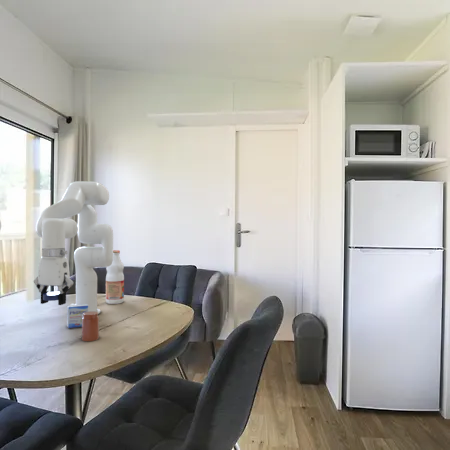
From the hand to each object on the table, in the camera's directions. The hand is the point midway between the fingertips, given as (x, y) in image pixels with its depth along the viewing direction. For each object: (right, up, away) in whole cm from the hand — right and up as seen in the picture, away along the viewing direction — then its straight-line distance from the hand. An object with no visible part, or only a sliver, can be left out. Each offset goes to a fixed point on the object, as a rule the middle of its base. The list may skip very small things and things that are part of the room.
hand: (53, 303), depth 132 cm
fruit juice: (+2, -14, +68) cm, 69 cm away
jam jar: (+11, -15, +7) cm, 19 cm away
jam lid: (0, +3, 0) cm, 3 cm away
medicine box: (-1, -15, +23) cm, 27 cm away
